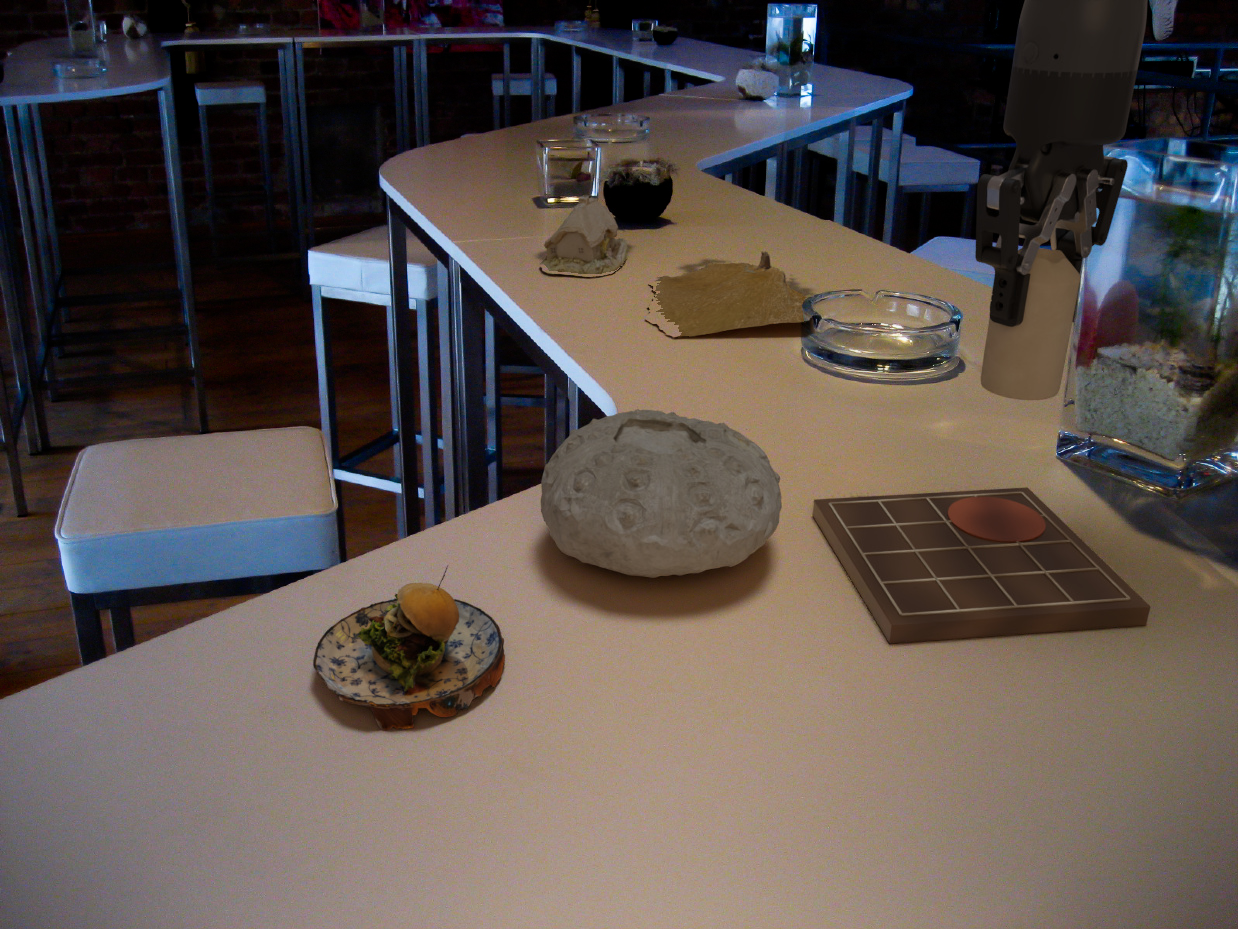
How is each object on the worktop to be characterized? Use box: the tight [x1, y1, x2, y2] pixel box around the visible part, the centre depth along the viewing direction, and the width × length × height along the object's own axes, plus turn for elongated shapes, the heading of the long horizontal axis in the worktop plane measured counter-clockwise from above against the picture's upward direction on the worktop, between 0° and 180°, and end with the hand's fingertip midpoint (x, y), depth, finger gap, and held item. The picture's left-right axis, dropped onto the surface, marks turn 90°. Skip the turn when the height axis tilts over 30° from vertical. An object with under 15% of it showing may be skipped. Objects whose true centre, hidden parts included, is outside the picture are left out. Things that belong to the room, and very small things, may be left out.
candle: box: [980, 247, 1082, 401], centre depth 77 cm, size 6×6×10 cm
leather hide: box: [654, 251, 808, 337], centre depth 138 cm, size 29×26×5 cm
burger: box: [312, 565, 506, 731], centre depth 67 cm, size 12×12×8 cm
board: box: [812, 486, 1151, 645], centre depth 80 cm, size 18×18×2 cm
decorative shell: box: [540, 408, 783, 579], centre depth 80 cm, size 18×18×10 cm
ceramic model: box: [540, 194, 629, 274], centre depth 154 cm, size 14×11×10 cm
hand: (1031, 314), depth 77 cm, fingers closed on candle, 5 cm apart
